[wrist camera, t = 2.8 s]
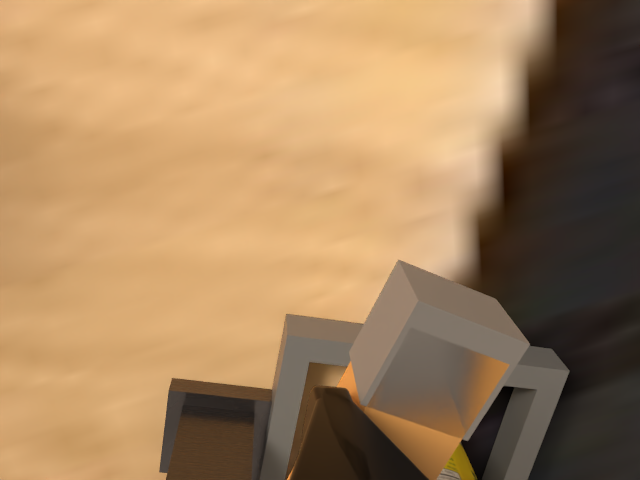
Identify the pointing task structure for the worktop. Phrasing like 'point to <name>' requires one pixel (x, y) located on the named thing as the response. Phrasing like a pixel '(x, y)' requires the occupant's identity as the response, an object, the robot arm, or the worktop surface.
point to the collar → (333, 348)
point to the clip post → (214, 431)
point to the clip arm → (430, 363)
